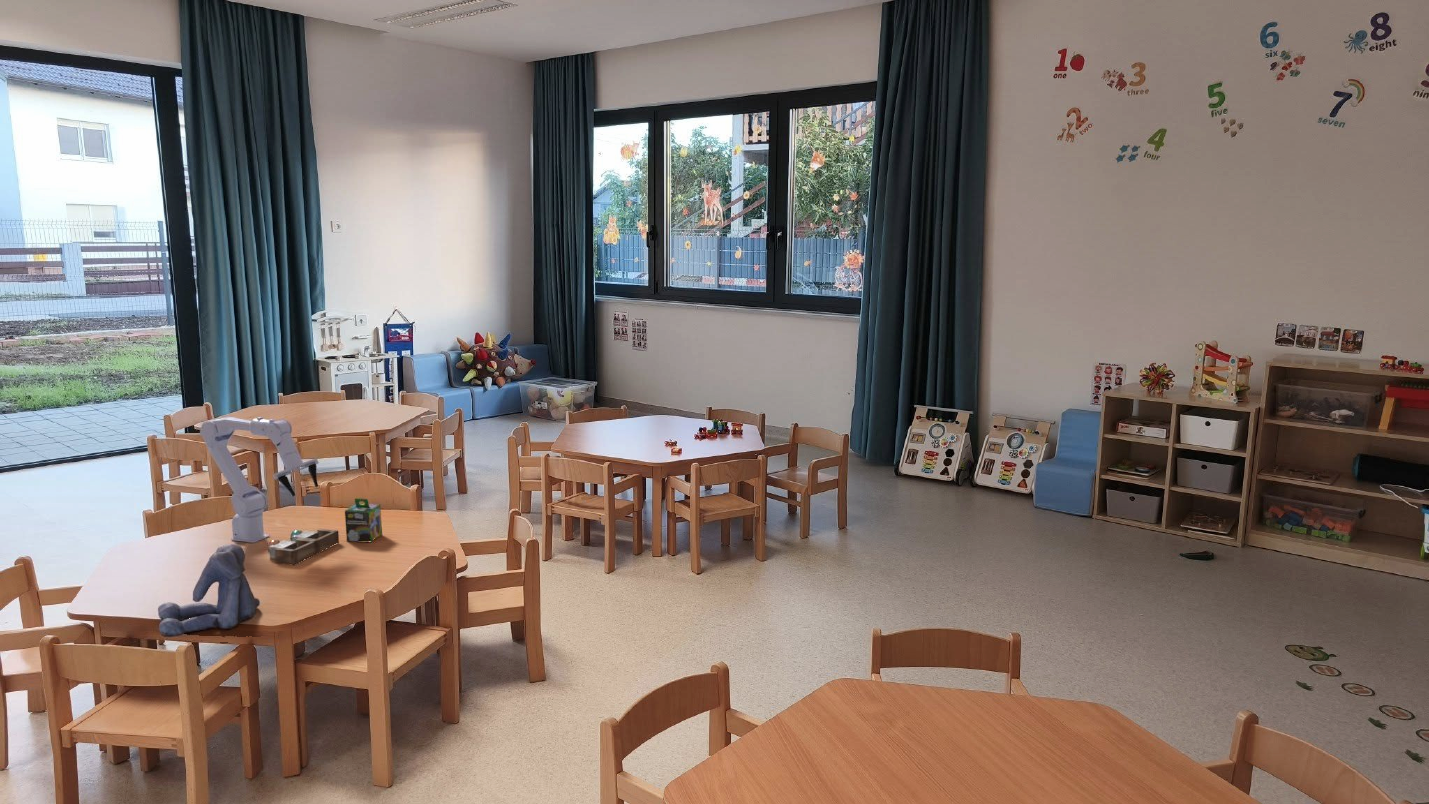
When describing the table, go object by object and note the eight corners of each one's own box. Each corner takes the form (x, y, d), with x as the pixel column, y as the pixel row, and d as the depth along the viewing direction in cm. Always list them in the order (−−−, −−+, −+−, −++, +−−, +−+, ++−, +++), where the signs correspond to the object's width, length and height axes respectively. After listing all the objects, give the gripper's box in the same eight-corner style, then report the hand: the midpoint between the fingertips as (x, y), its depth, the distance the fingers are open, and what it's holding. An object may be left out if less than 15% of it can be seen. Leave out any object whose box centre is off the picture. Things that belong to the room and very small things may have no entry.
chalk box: (382, 535, 329) (381, 495, 326) (370, 543, 320) (369, 502, 317) (358, 533, 330) (356, 493, 327) (345, 541, 321) (343, 500, 318)
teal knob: (288, 546, 312) (287, 533, 312) (301, 540, 319) (300, 527, 318) (306, 548, 311) (305, 535, 310) (319, 542, 317) (318, 529, 317)
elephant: (161, 612, 257) (155, 541, 254) (261, 600, 268) (256, 532, 264) (151, 641, 239) (145, 565, 235) (258, 627, 249) (254, 554, 246)
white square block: (265, 557, 302) (264, 543, 301) (279, 550, 308) (278, 537, 307) (283, 559, 300) (282, 545, 299) (297, 552, 307) (296, 539, 306)
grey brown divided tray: (275, 562, 298) (274, 549, 297) (320, 541, 320) (320, 528, 319) (294, 565, 297) (293, 551, 296) (338, 543, 318) (338, 530, 318)
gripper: (267, 461, 304) (284, 499, 305) (312, 444, 311) (328, 481, 312) (266, 463, 310) (283, 500, 311) (310, 447, 317) (326, 483, 318)
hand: (305, 491), depth 312 cm, fingers open, 7 cm apart
